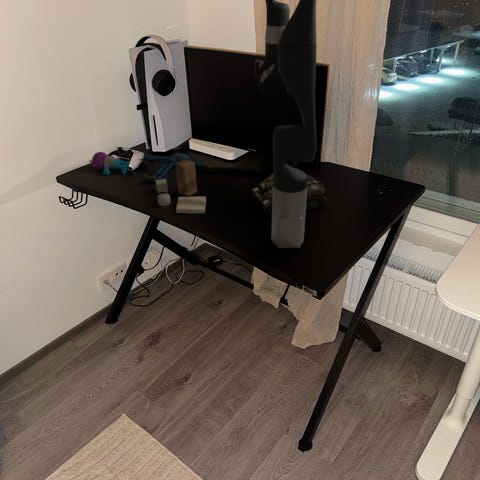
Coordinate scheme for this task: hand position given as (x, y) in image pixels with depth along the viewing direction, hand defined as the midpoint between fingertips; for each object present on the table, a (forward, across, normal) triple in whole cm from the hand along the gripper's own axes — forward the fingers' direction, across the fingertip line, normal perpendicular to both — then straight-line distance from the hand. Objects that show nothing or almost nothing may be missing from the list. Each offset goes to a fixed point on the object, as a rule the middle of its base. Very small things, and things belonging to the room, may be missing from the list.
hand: (275, 92), depth 152 cm
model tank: (+30, +4, -23) cm, 38 cm away
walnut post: (+30, -30, -14) cm, 45 cm away
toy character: (+30, -40, +5) cm, 50 cm away
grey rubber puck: (+30, -37, -22) cm, 53 cm away
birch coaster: (+30, -28, -24) cm, 47 cm away
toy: (+30, -62, +7) cm, 69 cm away
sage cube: (+30, -39, -12) cm, 51 cm away
